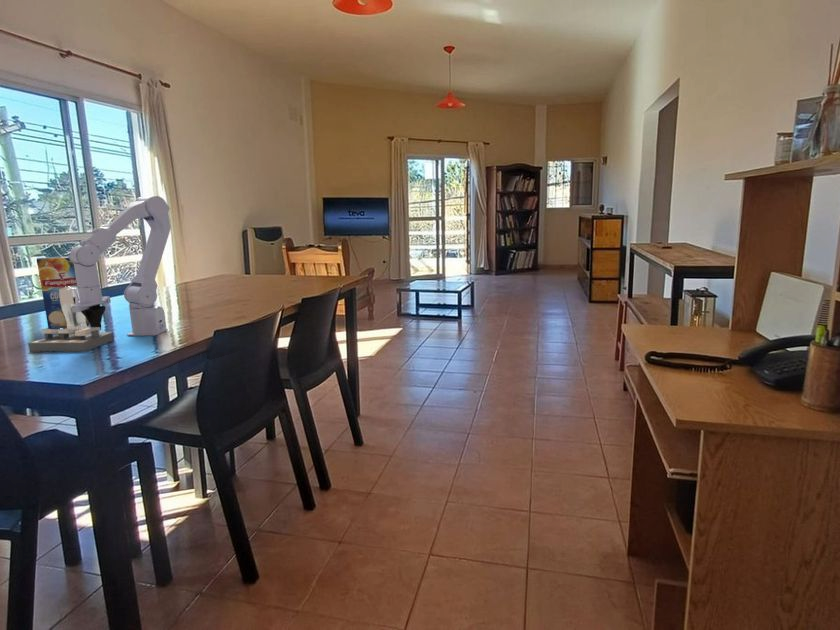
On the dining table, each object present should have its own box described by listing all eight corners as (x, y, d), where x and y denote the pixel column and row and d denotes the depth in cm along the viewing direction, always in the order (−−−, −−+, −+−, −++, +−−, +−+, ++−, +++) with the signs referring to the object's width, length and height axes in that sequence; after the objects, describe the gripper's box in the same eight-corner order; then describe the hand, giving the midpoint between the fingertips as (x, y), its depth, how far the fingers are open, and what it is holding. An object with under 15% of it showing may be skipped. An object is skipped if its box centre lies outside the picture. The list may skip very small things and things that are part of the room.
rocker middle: (84, 333, 155) (84, 329, 155) (67, 333, 148) (67, 328, 148) (75, 333, 155) (75, 329, 155) (57, 333, 148) (58, 328, 148)
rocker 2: (100, 330, 155) (99, 326, 155) (84, 335, 148) (84, 331, 148) (91, 330, 155) (90, 326, 155) (75, 335, 148) (74, 331, 148)
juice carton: (48, 330, 174) (36, 259, 169) (48, 326, 180) (36, 257, 175) (90, 325, 180) (79, 256, 176) (88, 321, 187) (78, 255, 182)
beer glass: (95, 330, 173) (88, 285, 170) (79, 335, 166) (72, 289, 163) (76, 330, 174) (69, 286, 170) (59, 335, 167) (52, 289, 164)
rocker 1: (68, 333, 155) (68, 329, 156) (50, 333, 148) (50, 328, 149) (59, 334, 156) (59, 329, 156) (41, 333, 149) (41, 329, 149)
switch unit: (114, 339, 159) (112, 325, 158) (85, 351, 146) (83, 335, 145) (62, 340, 159) (60, 326, 158) (29, 351, 147) (26, 336, 146)
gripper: (92, 282, 160) (99, 325, 163) (58, 290, 145) (66, 337, 148) (114, 282, 159) (120, 324, 162) (82, 290, 145) (90, 336, 148)
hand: (96, 330), depth 155 cm, fingers closed, pressing on rocker 2
